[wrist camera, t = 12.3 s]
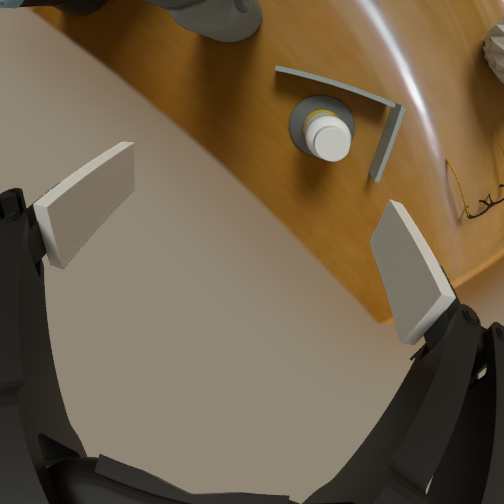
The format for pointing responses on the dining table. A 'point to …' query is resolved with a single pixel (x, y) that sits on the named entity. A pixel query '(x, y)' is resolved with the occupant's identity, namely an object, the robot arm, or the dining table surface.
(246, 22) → the water bottle
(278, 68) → the fence long
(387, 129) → the fence end
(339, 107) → the coaster
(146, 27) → the dining table surface
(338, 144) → the pill bottle
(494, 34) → the vase
